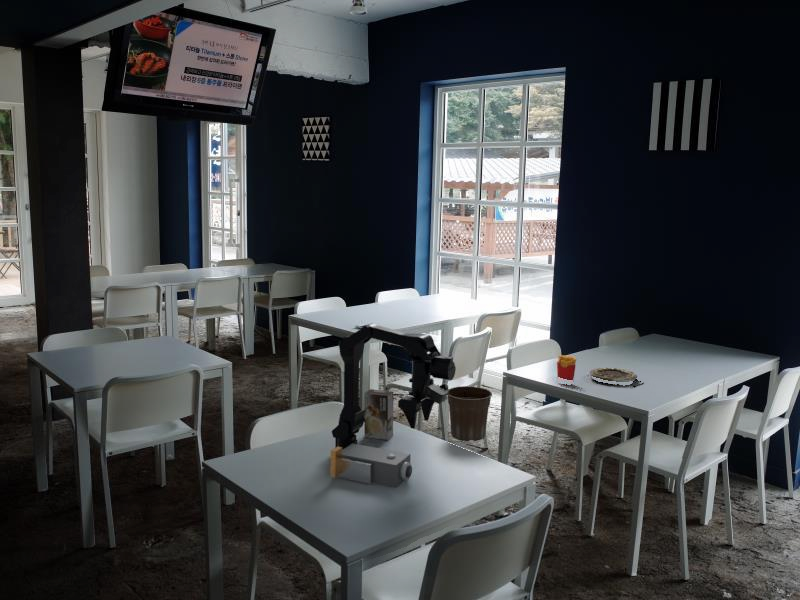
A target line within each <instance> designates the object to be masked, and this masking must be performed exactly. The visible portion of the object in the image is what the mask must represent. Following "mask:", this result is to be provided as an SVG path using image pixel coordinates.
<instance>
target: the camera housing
mask: <svg viewBox="0 0 800 600" xmlns="http://www.w3.org/2000/svg"><path fill="white" fill-rule="evenodd" d="M342 458H345V459H351V460H356V461H361V462H366V463H371V464H372V483H371V484H375V485H380V486H384V487H389V488H395V489H397V487H399V486H400V485H401V484H402V483H404V482H405V481H408V480H409V479H410V478H411V477H412V473H413V467H412V463H411V453H407V452H399V451H396V450H390V449H384V448H379V447H373V446H368V445H363V444H351V445H349V446H348V447H346V448H345V449H343V450H342Z"/></svg>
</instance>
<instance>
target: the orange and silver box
mask: <svg viewBox="0 0 800 600" xmlns="http://www.w3.org/2000/svg"><path fill="white" fill-rule="evenodd" d="M330 477H331V478H335V479H336V478H339V479H344V480H351V481H354V482H360V483H364V484H369V485H371V484H373V483H372V464H371V463H366V462H361V461H356V460H351V459H345V458H342V447H336V448H335V447H334V448H333V449H332V450H330Z"/></svg>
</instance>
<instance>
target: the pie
mask: <svg viewBox="0 0 800 600" xmlns="http://www.w3.org/2000/svg"><path fill="white" fill-rule="evenodd" d="M590 375H591V376H593V377H596V378H600V379H603V380H608V381H616V382H629V381H634V382H635V379H636V378H638V374H637V373H636V372H633V371H630V370H627V369H623V368H617V367H616V368H612V367H605V368H603V367H596V368H594V369H591V370H589V376H590ZM591 376H590V377H591Z"/></svg>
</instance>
